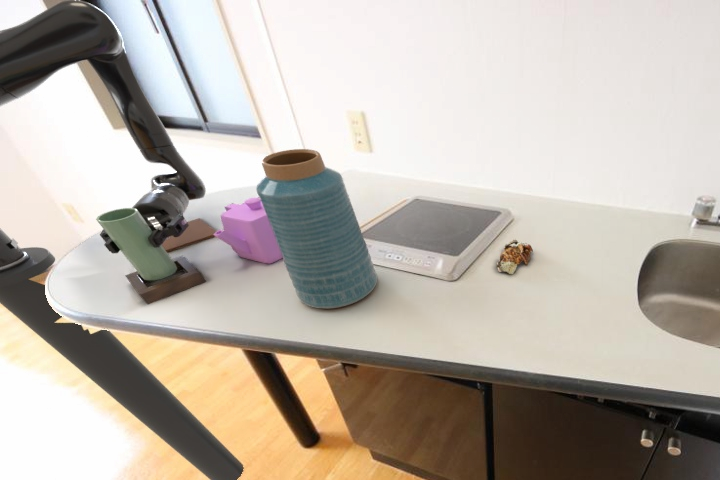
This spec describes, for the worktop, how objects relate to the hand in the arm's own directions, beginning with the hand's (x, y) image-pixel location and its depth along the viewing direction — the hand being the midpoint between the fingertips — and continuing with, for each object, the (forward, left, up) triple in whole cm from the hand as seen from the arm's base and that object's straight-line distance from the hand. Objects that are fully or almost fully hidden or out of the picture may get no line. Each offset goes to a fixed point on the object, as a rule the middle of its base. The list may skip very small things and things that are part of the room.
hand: (132, 246), depth 71 cm
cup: (+1, +2, -7) cm, 8 cm away
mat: (+10, +25, -10) cm, 29 cm away
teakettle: (+23, -1, -11) cm, 26 cm away
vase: (+24, -29, -11) cm, 39 cm away
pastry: (+57, -51, -11) cm, 78 cm away
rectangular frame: (+1, +2, -10) cm, 11 cm away
